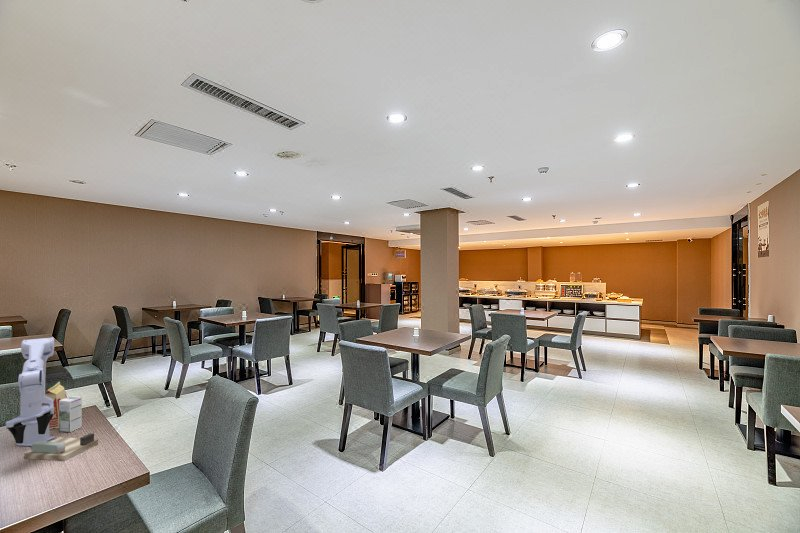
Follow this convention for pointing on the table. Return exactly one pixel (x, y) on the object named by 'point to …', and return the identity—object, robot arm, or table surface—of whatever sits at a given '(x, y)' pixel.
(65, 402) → the syrup box
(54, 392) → the milk carton
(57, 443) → the stool leg
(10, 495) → the table surface
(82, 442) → the stool seat
